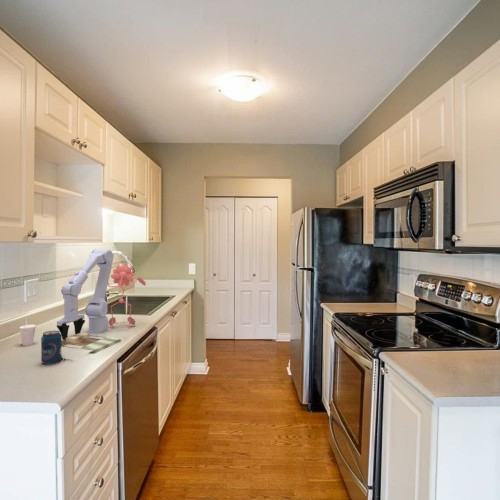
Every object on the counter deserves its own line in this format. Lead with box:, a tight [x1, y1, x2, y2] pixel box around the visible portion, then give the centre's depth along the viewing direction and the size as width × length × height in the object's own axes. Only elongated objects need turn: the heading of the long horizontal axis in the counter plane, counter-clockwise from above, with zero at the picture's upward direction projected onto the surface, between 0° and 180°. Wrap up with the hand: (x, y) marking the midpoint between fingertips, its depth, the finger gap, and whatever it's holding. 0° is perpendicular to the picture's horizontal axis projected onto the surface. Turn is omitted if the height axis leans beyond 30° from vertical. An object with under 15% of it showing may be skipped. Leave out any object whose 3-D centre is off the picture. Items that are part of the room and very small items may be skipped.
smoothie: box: [19, 316, 37, 347], centre depth 152 cm, size 6×6×14 cm
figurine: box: [107, 264, 147, 330], centre depth 192 cm, size 15×26×35 cm, turn 98°
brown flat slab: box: [61, 334, 122, 355], centre depth 157 cm, size 18×24×2 cm
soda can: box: [40, 330, 63, 366], centre depth 134 cm, size 7×7×12 cm
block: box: [66, 332, 90, 345], centre depth 158 cm, size 9×5×2 cm, turn 164°
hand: (71, 337), depth 159 cm, fingers open, 7 cm apart
